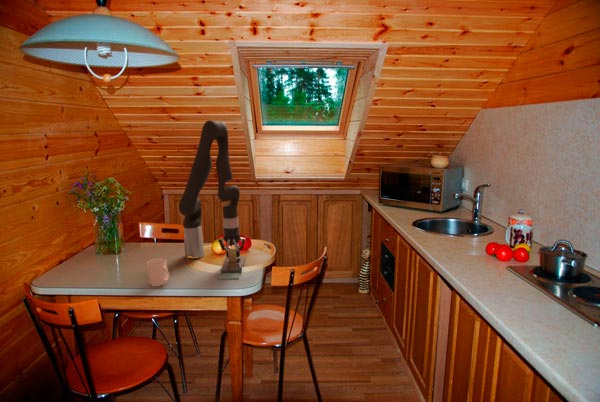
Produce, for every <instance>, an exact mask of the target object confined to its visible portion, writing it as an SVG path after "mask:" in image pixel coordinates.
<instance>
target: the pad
mask: <svg viewBox="0 0 600 402" xmlns="http://www.w3.org/2000/svg"><path fill="white" fill-rule="evenodd" d="M240 275H241V273H222V274H221V273H220V276H219V280H220V281H221V280H239V279H240V277H241V276H240Z"/></svg>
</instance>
